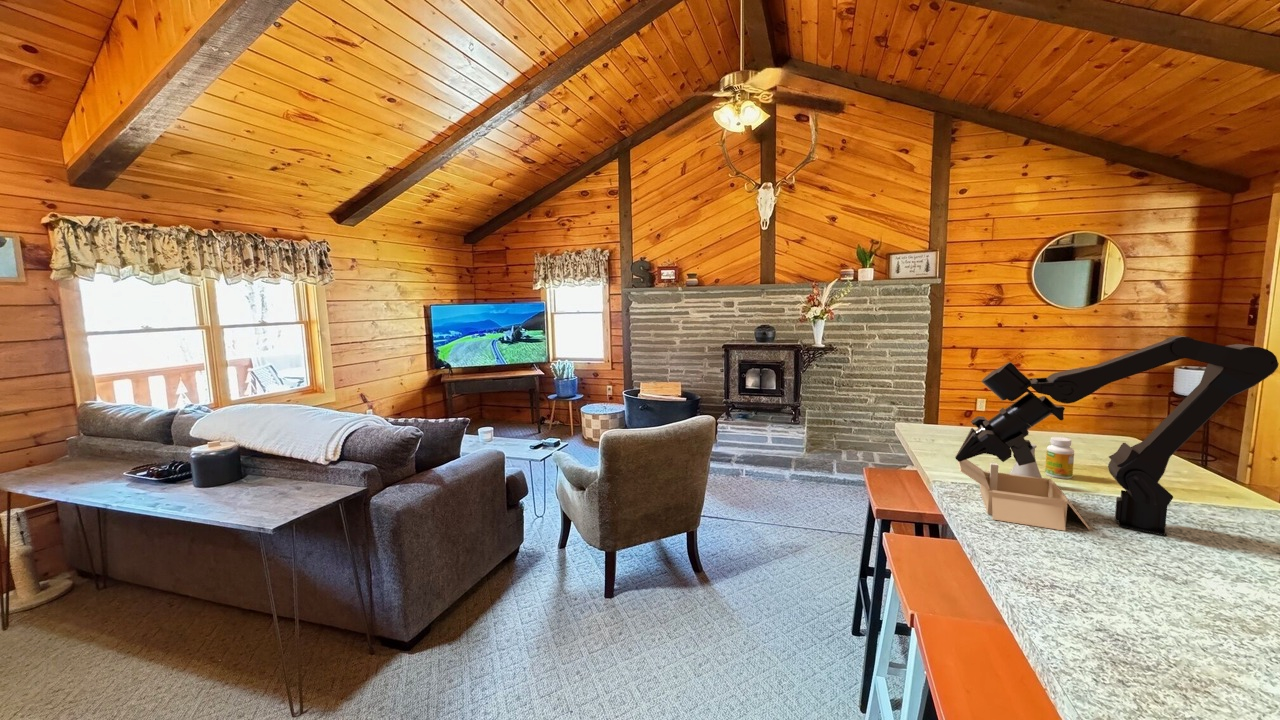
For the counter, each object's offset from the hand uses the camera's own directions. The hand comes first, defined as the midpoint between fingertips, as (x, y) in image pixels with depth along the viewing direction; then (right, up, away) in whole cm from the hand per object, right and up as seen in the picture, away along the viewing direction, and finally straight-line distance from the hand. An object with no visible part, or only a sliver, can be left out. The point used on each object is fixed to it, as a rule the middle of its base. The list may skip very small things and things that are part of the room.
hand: (957, 459), depth 113 cm
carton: (+12, -10, -6) cm, 16 cm away
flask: (+22, -8, +9) cm, 25 cm away
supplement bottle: (+35, -7, +14) cm, 38 cm away
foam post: (+10, -9, +2) cm, 13 cm away
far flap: (+5, -4, -2) cm, 7 cm away
